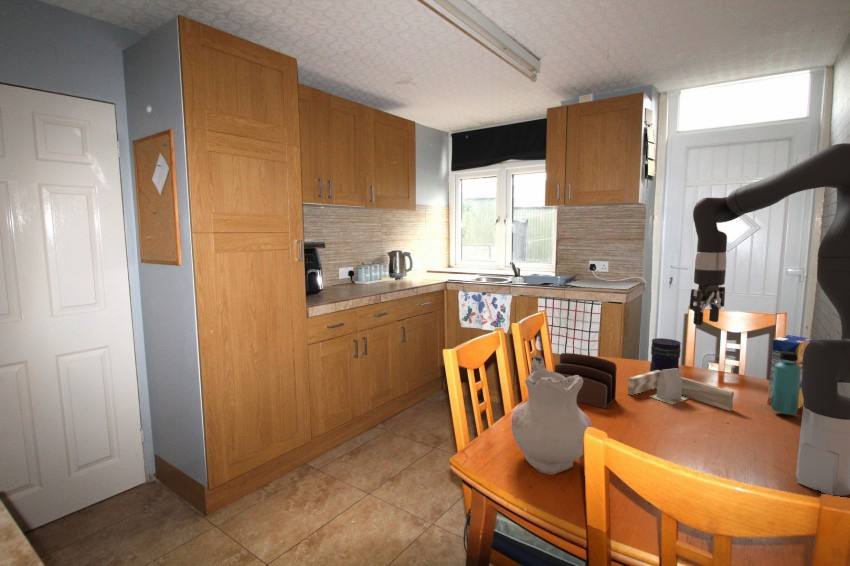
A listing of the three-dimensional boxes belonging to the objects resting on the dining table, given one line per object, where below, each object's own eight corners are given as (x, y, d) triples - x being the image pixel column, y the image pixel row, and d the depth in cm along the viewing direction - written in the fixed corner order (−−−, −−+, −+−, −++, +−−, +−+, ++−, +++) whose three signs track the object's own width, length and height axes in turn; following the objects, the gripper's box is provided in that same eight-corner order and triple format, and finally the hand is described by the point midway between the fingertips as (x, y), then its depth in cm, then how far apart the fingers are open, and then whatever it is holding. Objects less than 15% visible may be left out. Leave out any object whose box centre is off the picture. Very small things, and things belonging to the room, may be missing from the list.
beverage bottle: (802, 420, 130) (809, 355, 128) (777, 418, 132) (783, 354, 129) (789, 411, 137) (795, 349, 134) (765, 409, 138) (770, 348, 136)
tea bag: (681, 398, 147) (683, 370, 146) (664, 400, 145) (666, 371, 144) (672, 394, 150) (674, 366, 149) (656, 396, 149) (658, 368, 148)
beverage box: (766, 404, 143) (773, 339, 140) (782, 397, 148) (788, 334, 145) (792, 411, 137) (799, 343, 134) (807, 404, 142) (814, 339, 139)
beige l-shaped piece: (703, 421, 130) (705, 402, 129) (627, 394, 152) (628, 377, 151) (732, 409, 138) (733, 391, 138) (656, 385, 160) (657, 369, 159)
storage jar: (643, 376, 170) (645, 339, 168) (663, 373, 173) (665, 337, 171) (664, 384, 161) (666, 345, 159) (684, 382, 164) (687, 343, 162)
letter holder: (559, 387, 160) (560, 349, 158) (615, 400, 147) (617, 360, 145) (548, 394, 152) (549, 355, 150) (606, 409, 139) (608, 367, 138)
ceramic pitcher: (494, 448, 117) (489, 360, 113) (554, 431, 123) (551, 347, 120) (542, 493, 97) (538, 388, 93) (611, 470, 103) (610, 370, 99)
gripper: (710, 270, 118) (706, 328, 120) (737, 267, 125) (732, 322, 127) (682, 268, 124) (679, 323, 126) (709, 266, 131) (705, 318, 133)
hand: (705, 323), depth 127 cm, fingers open, 8 cm apart
